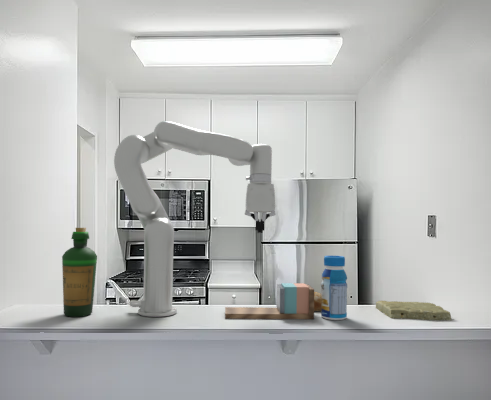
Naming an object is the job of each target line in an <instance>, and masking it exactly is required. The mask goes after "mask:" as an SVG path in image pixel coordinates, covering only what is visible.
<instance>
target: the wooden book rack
mask: <svg viewBox="0 0 491 400" xmlns="http://www.w3.org/2000/svg"><path fill="white" fill-rule="evenodd" d="M306 285H307V286H308V287H309V314H285V313H280V312H279V311H278V309H277V307H256V306H255V307H252V306H251V307H249V306H248V307H247V306H246V307H244V306H243V307H241V306H240V307H236V306H235V307H234V306H231V307H230V306H229V307H228V306H227V307H224V309H225V310H224V311H225V312H224V317H225V319H229V320H230V319H233V320H234V319H235V320H237V319H241V320H242V319H244V320H245V319H249V320H250V319H252V320H253V319H255V320H256V319H257V320H258V319H259V320H261V319H262V320H264V319H266V320H267V319H268V320H269V319H270V320H273V319H274V320H277V319H279V320H280V319H281V320H314V319H315V311H314V292H315V288H313V287H312V286H311V285H309V284H306Z"/></svg>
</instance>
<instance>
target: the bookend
mask: <svg viewBox="0 0 491 400" xmlns="http://www.w3.org/2000/svg"><path fill="white" fill-rule="evenodd" d="M275 305H276V307H275V308H277V309H278V311H279V312H280V313H284V307H285V289H284V287H283V286H282V285H281V284H280V283H279V284H278V283H277V284H276V304H275Z"/></svg>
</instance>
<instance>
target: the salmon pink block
mask: <svg viewBox="0 0 491 400" xmlns="http://www.w3.org/2000/svg"><path fill="white" fill-rule="evenodd" d="M293 284H294V285H295V286H296V287H297V314H309V287H308V286H307V285H308V284H307V283H303V282H302V283H300V282H299V283H297V282H296V283H295V282H294V283H293Z"/></svg>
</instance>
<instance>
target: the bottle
mask: <svg viewBox="0 0 491 400" xmlns="http://www.w3.org/2000/svg"><path fill="white" fill-rule="evenodd" d="M74 229H75V231H72V234H71V238H70V239H71V240H72V243H73V246H72V247H70V248H69V249H67V250H66V251H65V252H64V253H63V255H62V256H61V258H62V259H61V260H62V261H61V264H62V265H61V266H62V267H61V268H62V290H63V291H62V294H63V295H62V297H63V299H62V303H63V314H64V316H65V317H68V318H80V317H81V318H82V317H86V316H89V315H91V314H92V313H93V309H94V308H93V306H94V296H95V284H96V275H97V274H96V273H97V261H98V255H97V253H96V252H95V250H93V249H91V248H90V247H88V241H89V240H90V234H89V231H86V230H87V227H75V228H74Z"/></svg>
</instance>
